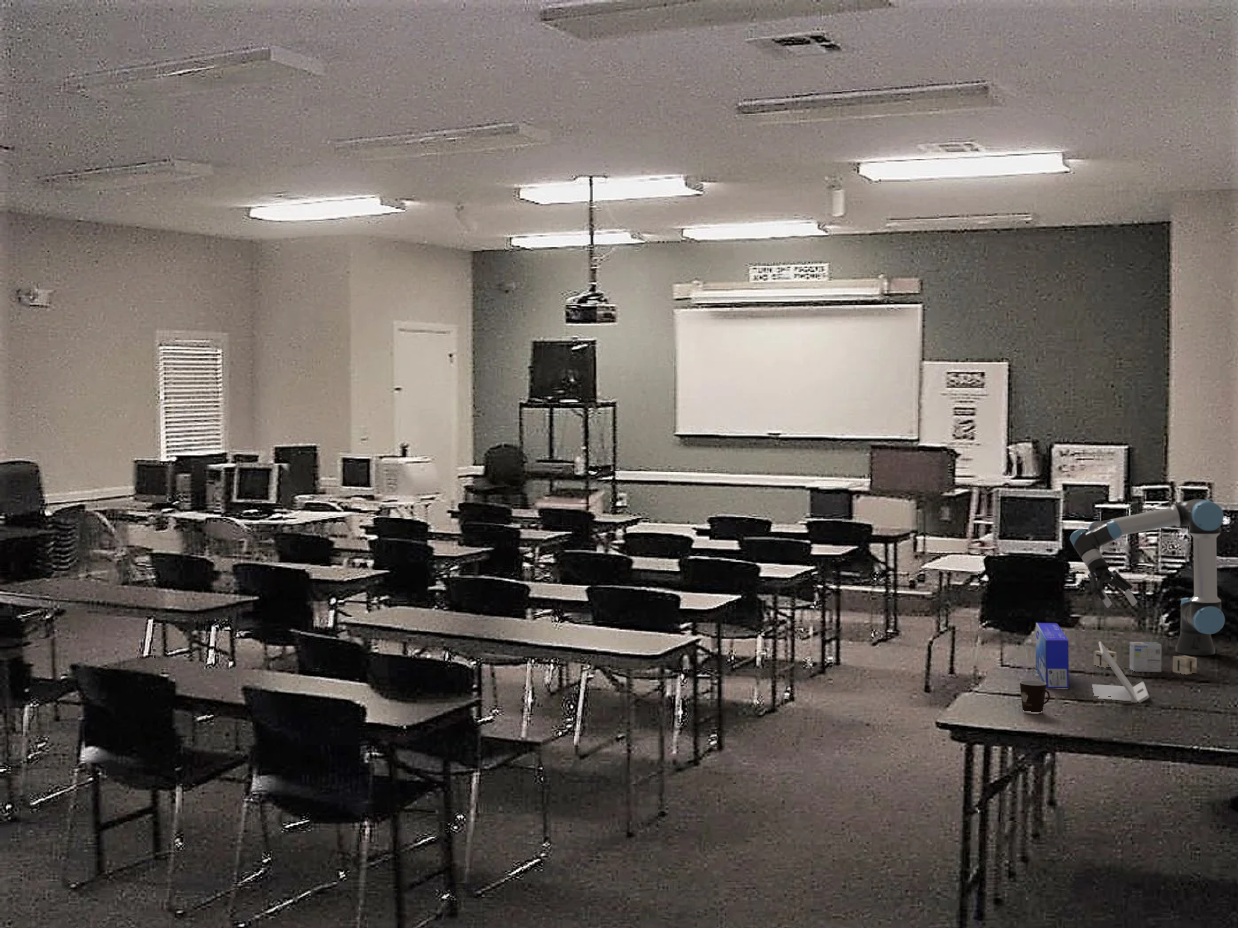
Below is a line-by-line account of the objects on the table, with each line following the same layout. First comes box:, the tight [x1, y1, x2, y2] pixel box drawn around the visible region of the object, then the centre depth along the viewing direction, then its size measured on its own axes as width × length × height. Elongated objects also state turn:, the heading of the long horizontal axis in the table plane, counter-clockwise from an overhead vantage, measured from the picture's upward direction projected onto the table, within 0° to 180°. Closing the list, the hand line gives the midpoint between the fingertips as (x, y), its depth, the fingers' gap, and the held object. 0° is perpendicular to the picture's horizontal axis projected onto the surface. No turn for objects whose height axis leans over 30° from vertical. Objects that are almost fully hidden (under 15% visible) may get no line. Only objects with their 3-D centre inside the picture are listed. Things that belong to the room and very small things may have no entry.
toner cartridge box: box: [1035, 622, 1070, 689], centre depth 506 cm, size 39×8×18 cm, turn 168°
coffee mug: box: [1019, 679, 1051, 712], centre depth 449 cm, size 12×9×10 cm
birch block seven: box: [1093, 649, 1117, 669], centre depth 532 cm, size 6×6×6 cm
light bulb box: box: [1129, 641, 1162, 673], centre depth 524 cm, size 11×7×11 cm, turn 84°
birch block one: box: [1172, 655, 1198, 675], centre depth 520 cm, size 6×6×6 cm
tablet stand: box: [1091, 641, 1150, 704], centre depth 480 cm, size 18×25×17 cm
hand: (1122, 604), depth 535 cm, fingers open, 13 cm apart
